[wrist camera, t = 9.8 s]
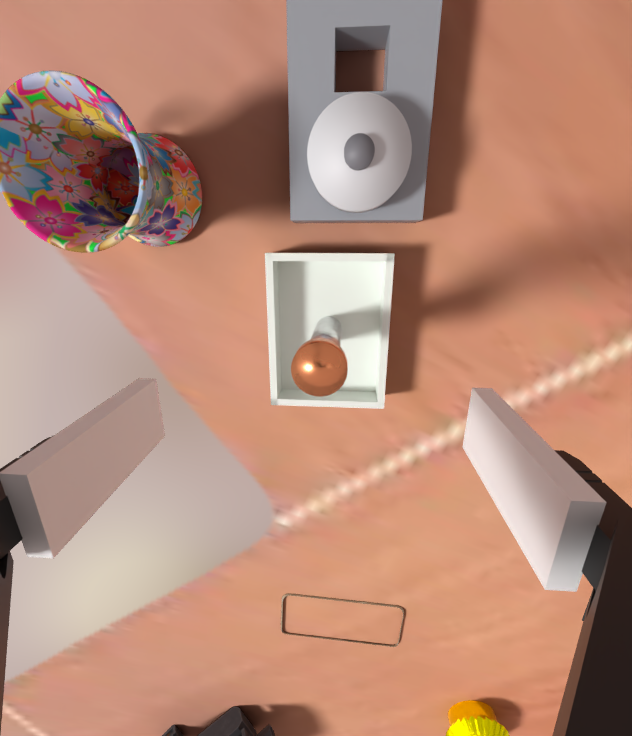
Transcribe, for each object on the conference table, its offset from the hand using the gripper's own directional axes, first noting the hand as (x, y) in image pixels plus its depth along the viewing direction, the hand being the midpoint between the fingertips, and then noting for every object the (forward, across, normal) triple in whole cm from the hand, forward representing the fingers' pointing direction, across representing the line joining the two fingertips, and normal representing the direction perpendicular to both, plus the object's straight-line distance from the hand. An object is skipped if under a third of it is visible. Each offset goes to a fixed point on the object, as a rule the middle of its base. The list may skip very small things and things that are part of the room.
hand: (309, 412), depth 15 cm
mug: (+20, -16, +11) cm, 28 cm away
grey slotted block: (+19, +2, +15) cm, 25 cm away
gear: (+18, +20, -54) cm, 60 cm away
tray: (+19, 0, -1) cm, 19 cm away
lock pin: (+18, 0, -1) cm, 18 cm away
